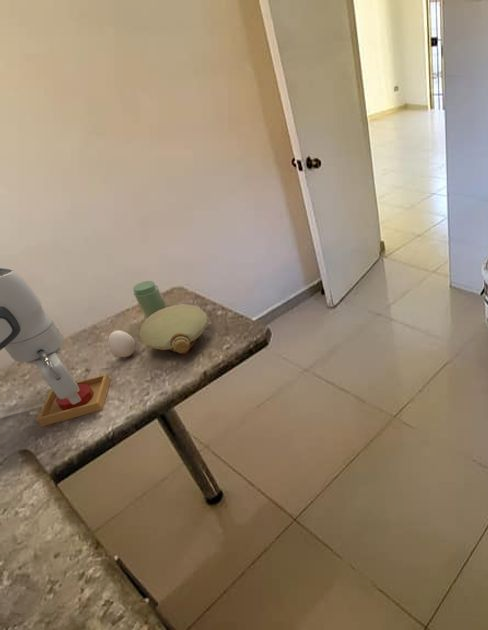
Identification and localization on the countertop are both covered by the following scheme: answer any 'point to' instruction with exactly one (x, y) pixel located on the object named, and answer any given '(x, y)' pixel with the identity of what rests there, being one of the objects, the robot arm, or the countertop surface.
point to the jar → (149, 297)
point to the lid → (84, 394)
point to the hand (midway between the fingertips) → (70, 391)
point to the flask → (174, 328)
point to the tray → (55, 413)
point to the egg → (121, 343)
